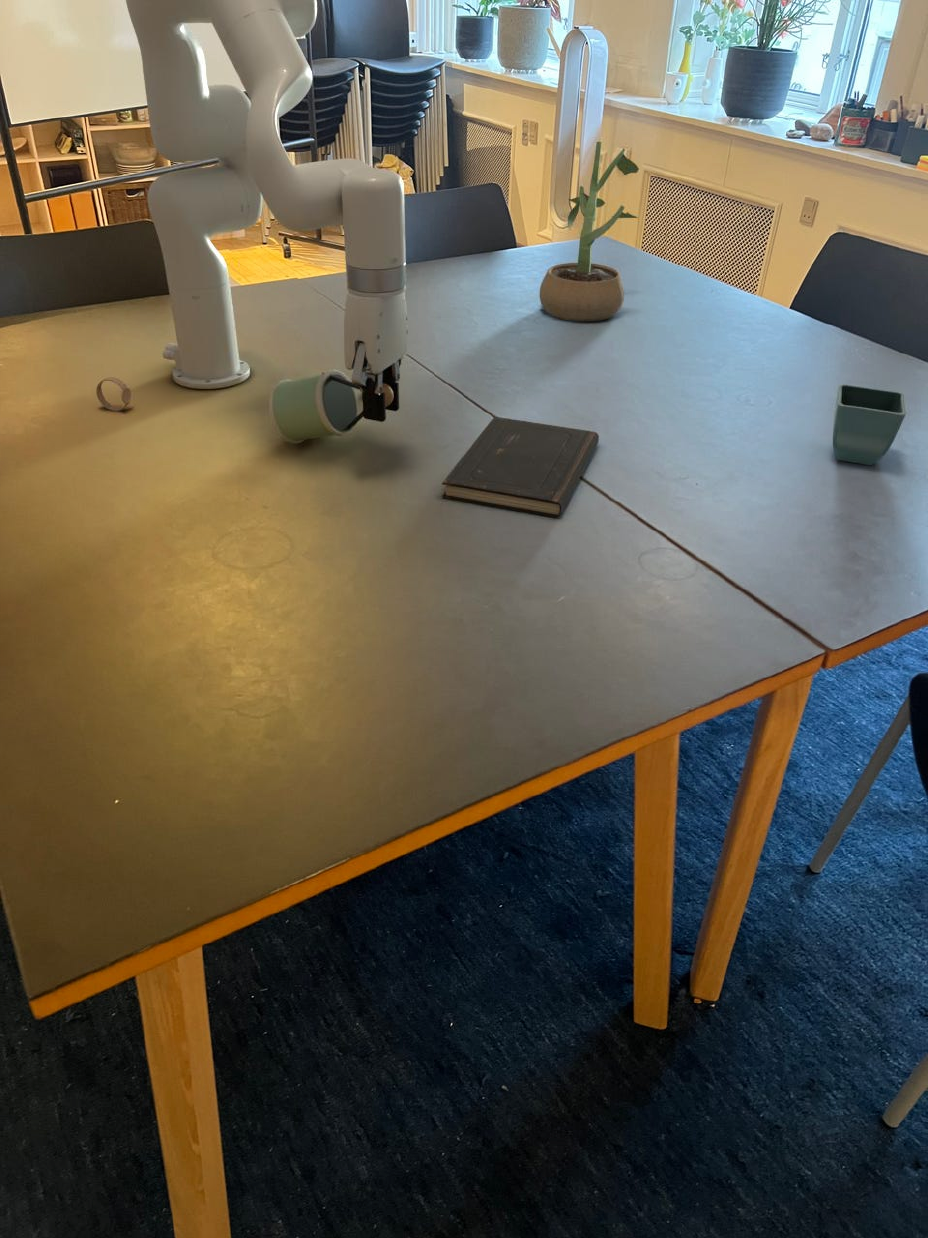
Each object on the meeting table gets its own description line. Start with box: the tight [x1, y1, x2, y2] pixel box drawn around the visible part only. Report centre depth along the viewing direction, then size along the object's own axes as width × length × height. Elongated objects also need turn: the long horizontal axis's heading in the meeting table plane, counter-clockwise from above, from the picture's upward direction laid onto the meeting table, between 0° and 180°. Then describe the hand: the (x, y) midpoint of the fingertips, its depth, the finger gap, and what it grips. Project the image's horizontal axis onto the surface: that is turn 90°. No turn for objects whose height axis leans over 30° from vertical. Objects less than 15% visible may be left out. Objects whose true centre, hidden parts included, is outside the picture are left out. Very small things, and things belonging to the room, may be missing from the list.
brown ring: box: [95, 376, 132, 412], centre depth 146 cm, size 3×5×5 cm, turn 78°
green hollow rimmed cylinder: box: [268, 369, 394, 444], centre depth 132 cm, size 18×9×9 cm, turn 67°
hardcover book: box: [441, 416, 600, 518], centre depth 131 cm, size 16×23×2 cm
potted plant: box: [539, 141, 640, 323], centre depth 185 cm, size 22×18×30 cm
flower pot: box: [832, 383, 907, 466], centre depth 135 cm, size 9×9×9 cm
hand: (381, 412), depth 130 cm, fingers closed on green hollow rimmed cylinder, 3 cm apart
